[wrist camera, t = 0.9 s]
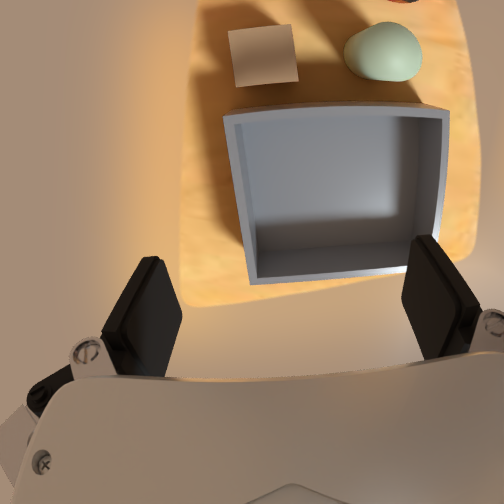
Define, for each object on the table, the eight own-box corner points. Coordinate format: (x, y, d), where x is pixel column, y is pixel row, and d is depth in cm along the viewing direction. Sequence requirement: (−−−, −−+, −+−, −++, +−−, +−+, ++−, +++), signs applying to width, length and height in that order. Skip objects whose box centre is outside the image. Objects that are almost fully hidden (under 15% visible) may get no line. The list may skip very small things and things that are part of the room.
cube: (235, 38, 24) (227, 31, 20) (288, 33, 23) (291, 24, 19) (241, 86, 26) (235, 87, 22) (294, 81, 26) (298, 81, 22)
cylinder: (340, 31, 23) (359, 19, 17) (388, 34, 22) (418, 25, 16) (345, 79, 25) (366, 80, 19) (393, 80, 24) (424, 83, 19)
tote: (231, 109, 28) (222, 116, 23) (422, 103, 25) (449, 110, 20) (253, 255, 36) (250, 285, 31) (414, 242, 34) (432, 269, 29)
